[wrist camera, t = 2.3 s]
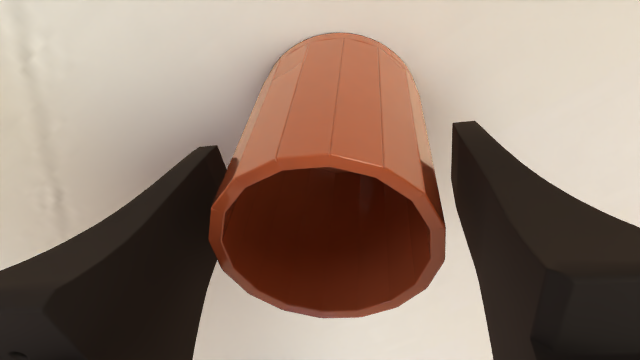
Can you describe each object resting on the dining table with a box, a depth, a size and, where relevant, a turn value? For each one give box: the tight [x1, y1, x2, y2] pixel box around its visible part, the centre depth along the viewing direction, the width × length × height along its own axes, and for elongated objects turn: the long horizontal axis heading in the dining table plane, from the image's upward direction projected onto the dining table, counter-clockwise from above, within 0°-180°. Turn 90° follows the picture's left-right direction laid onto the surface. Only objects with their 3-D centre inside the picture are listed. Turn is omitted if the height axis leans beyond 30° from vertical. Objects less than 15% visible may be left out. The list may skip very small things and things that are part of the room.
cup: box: [208, 33, 446, 318], centre depth 13 cm, size 6×6×7 cm
